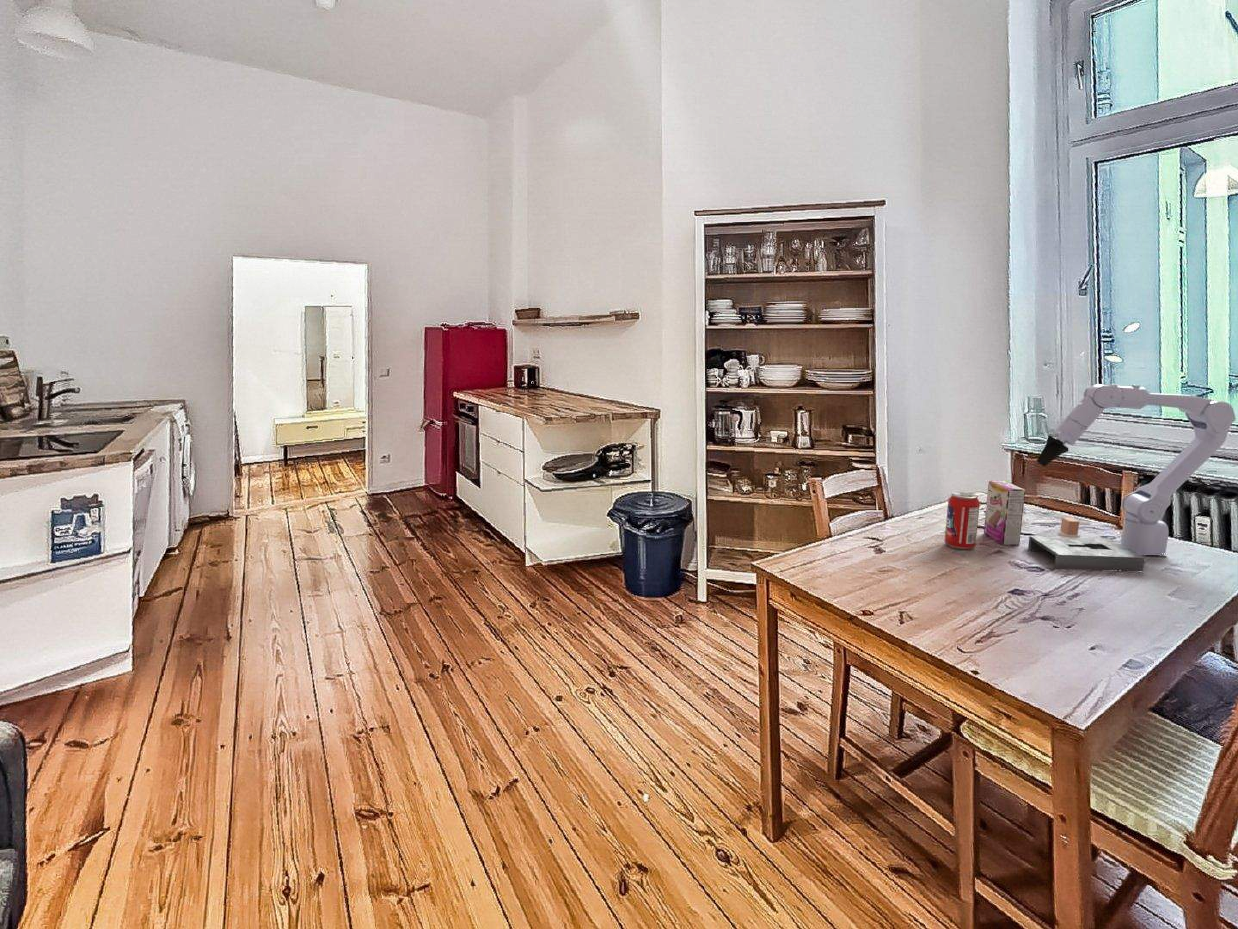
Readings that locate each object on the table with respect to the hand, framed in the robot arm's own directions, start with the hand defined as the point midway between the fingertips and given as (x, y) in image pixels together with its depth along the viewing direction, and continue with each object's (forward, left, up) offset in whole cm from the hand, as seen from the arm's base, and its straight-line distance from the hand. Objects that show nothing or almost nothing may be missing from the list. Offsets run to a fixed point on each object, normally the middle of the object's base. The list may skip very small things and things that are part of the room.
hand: (1040, 463), depth 185 cm
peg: (-11, -2, -23) cm, 26 cm away
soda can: (+20, +4, -24) cm, 31 cm away
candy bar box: (+6, -4, -24) cm, 25 cm away
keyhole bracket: (-8, +12, -23) cm, 27 cm away
